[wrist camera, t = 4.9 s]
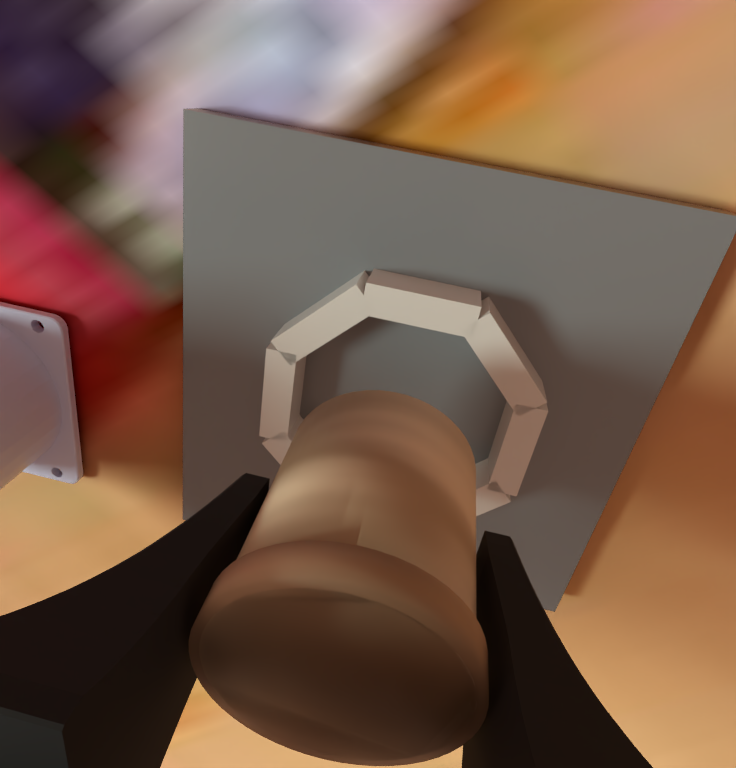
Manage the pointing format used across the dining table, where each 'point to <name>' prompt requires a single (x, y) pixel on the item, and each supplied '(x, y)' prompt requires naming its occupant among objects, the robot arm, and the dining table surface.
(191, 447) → the collar board
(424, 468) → the cup
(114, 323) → the dining table surface
